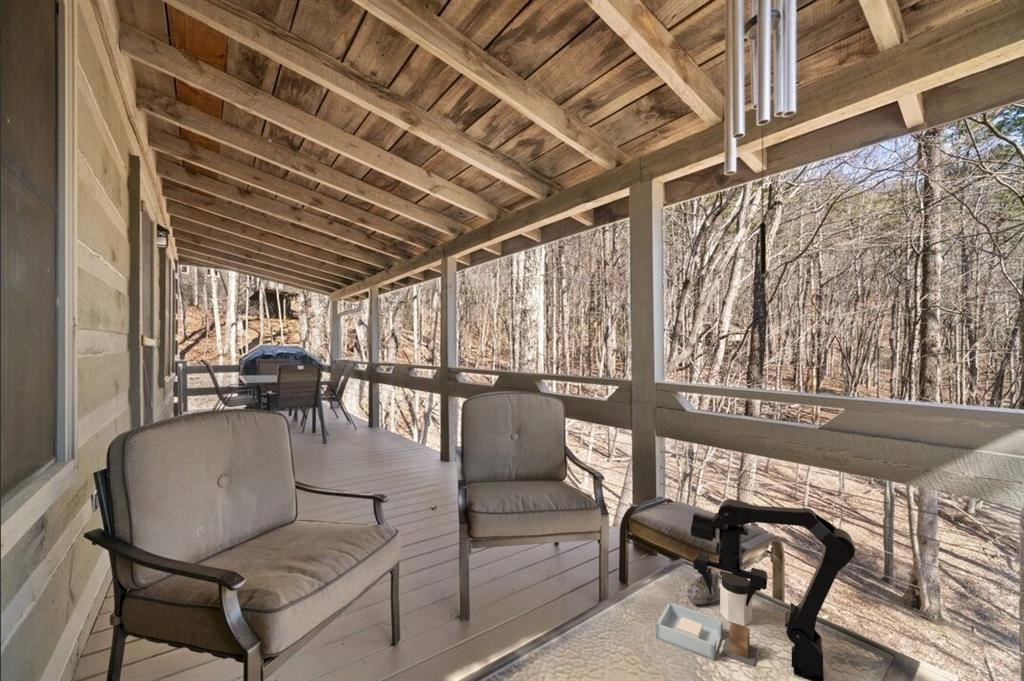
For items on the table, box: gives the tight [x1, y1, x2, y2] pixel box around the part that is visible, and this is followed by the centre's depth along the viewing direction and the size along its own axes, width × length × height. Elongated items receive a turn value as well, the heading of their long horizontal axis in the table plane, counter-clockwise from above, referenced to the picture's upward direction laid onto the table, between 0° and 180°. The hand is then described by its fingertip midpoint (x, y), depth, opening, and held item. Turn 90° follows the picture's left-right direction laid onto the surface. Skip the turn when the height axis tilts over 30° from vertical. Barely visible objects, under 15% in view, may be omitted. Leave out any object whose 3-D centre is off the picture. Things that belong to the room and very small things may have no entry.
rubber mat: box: [720, 636, 758, 668], centre depth 120 cm, size 8×8×1 cm
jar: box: [719, 572, 753, 627], centre depth 136 cm, size 9×8×12 cm
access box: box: [655, 602, 723, 661], centre depth 127 cm, size 16×14×4 cm
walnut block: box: [728, 622, 751, 659], centre depth 120 cm, size 4×4×6 cm
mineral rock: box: [686, 569, 720, 605], centre depth 146 cm, size 13×11×10 cm
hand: (728, 599), depth 124 cm, fingers open, 9 cm apart
